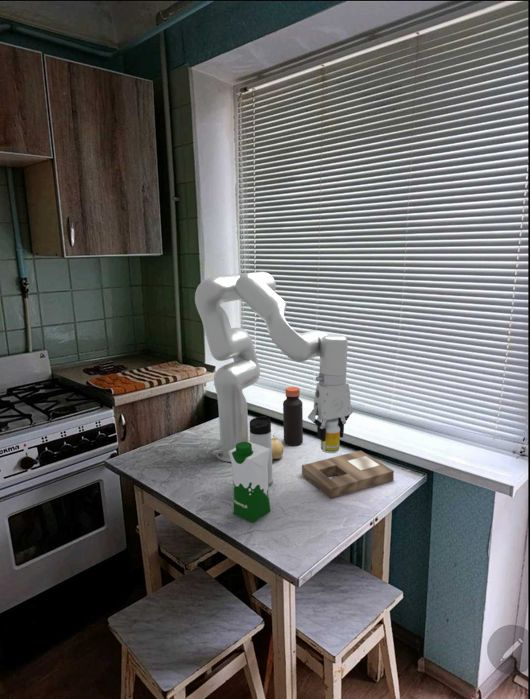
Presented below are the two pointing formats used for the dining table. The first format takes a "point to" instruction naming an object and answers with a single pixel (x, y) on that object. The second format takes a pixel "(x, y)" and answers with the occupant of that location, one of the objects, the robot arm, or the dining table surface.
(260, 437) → the travel mug
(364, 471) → the socket board
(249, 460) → the milk carton
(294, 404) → the vinegar
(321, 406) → the robot arm
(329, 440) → the supplement bottle
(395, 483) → the dining table surface
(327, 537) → the dining table surface
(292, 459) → the dining table surface
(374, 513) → the dining table surface
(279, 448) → the onion
